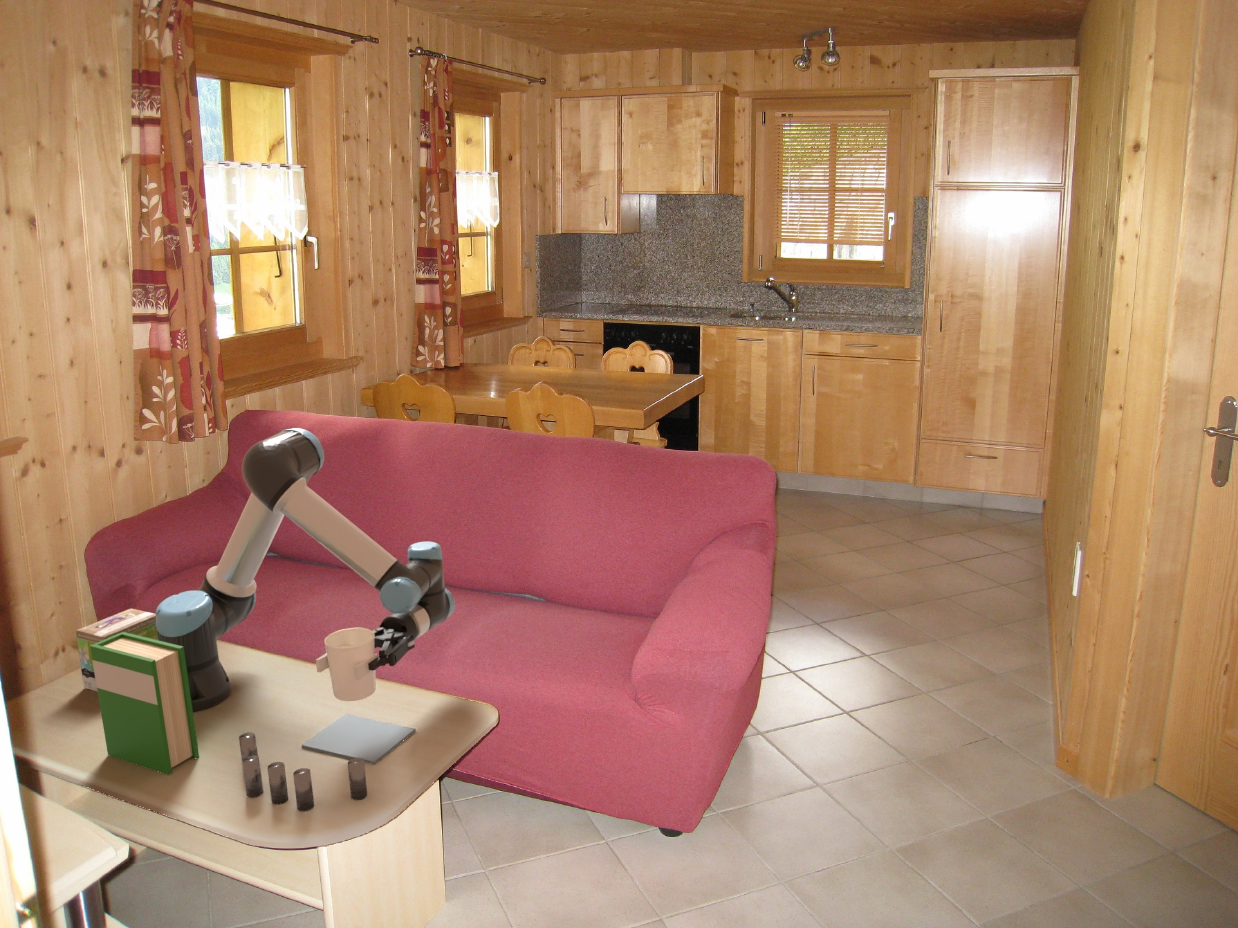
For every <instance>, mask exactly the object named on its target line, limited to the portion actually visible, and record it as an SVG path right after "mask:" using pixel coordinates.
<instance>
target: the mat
mask: <svg viewBox="0 0 1238 928" xmlns="http://www.w3.org/2000/svg"><path fill="white" fill-rule="evenodd" d="M416 731H417V730H416V728H414V727H410V726H405V725H402V724H401V725H400V724H397V723H392V722H386V721H382V720H376V719H373V718H368V717H363V716H358V715H354V714H348V713H345V714H343V715H341V716H340V717H339V718H338V719H336V720H335V721H333V722H332V723H331V724H329V725H327V726H326V727H325V728H324V729H322V730H321V731H319V732H318V733H316V734H314V735H313V736H312V737H311V738H309V739H308V740H306V741H305V742H304V743H303V744H301V748H303V749H306V750H311V751H314V752H318V751H319V753H324V754H328V755H331V756H335V757H339V758H340V757H341V758H344V759H347V760H348V759H349V760H351V759H353V758H362V759H364V763H366V764H370V765H376V764H377V763H379V762H380V761H381V760H382V759H383V758H385V757H386V756H387V755H388V754H390V753H391V752H392V751H393V750H395V749H396V748H397V747H398V746H400V745H401V744H403V742H404V741H406V740H407V739H408V738H409V737H410V735H411V736H412V735H413V734H414V733H415V732H416ZM412 733H413V734H412ZM407 737H408V738H407ZM405 739H406V740H405ZM403 740H404V741H403ZM400 743H401V744H400ZM394 748H395V749H394Z"/></svg>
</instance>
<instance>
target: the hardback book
mask: <svg viewBox="0 0 1238 928" xmlns="http://www.w3.org/2000/svg"><path fill="white" fill-rule="evenodd" d="M90 649H91V655H92V661H93V667H94V673H95V679H96V685H97V691H98V692H97V691H96V692H97V695H98V703H99V709H100V714H101V720H102V727H103V734H104V739H105V745H106V752H107V755H110V756H109V757H111V756H112V758H114V757H115V759H117V758H118V760H121V761H123V760H124V761H125V762H127V763H131V764H134V765H136V764H137V765H136V766H140V767H142V766H143V768H145V767H146V768H145V769H148V768H149V769H148V770H151V769H152V770H151V771H154V770H155V771H154V772H157V771H159V772H158V773H160V772H161V773H160V774H163V773H164V774H163V775H166V774H167V775H166V776H169V775H168V774H170V773H171V774H173V770H172V768H174V767H176V766H177V765H179V764H181V763H182V762H184V761H186V760H188V759H189V758H190V757H191V758H190V759H193V758H194V760H196V759H195V758H197V759H198V758H200V753H199V747H198V746H199V745H198V740H197V739H198V737H197V732H196V725H195V724H196V723H195V719H194V717H195V716H194V711H193V709H192V702H191V695H190V688H189V681H188V674H187V667H186V660H185V653H184V647H183V646H179V645H175V644H171V643H167V642H163V641H158V640H154V639H150V638H146V637H142V636H138V635H134V634H130V633H126V632H121V633H119V634H117V635H114V636H112V637H110V638H107V639H105V640H103V641H100V642H98V643H95V644H93V645H91V646H90ZM124 761H123V762H124ZM171 774H170V775H171Z"/></svg>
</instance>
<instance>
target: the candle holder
mask: <svg viewBox="0 0 1238 928" xmlns="http://www.w3.org/2000/svg"><path fill="white" fill-rule="evenodd" d="M374 638H375V634H374V632H373V631H372V630H371V629H368V628H366V627H365V628H361V627H350V628H349V627H347V628H344V629H340V630H336V631H334V632H332V633H330V634H328V635H327V636H326V637H325V638H324V645H325V647H324V648H325V653H327V659H328V664H329V667H328V669H329V674H330V675H329V676H330V681H331V688H332V692H333V695H334V697H335V698H336V699H337V700H338V701H339V700H340V701H342V702H343V701H344V702H355V701H361V700H364V699H367V698H369V697H370V696H372V695H373V694H374V693H375V692H376V686H377V682H376V679H377V678H376V677H377V673H376V672H377V671H376V670H373V671H371V672H370V673H368V674H367V675H365V676H364V677H362V678H361V679H359V680H356V679H355V671H354V666H356V665H358V664H359V663H361V662H362V661H364V660H366V659H368V658H370V657H371V656H373V654H374V653H375V654H376V648H375V640H374Z"/></svg>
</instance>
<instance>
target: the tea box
mask: <svg viewBox="0 0 1238 928" xmlns="http://www.w3.org/2000/svg"><path fill="white" fill-rule="evenodd" d="M121 632H126V633H130V634H134V635H138V636H142V637H146V638H150V639H154V640H158V641H159V639H158V632H157V629H156V613H153V612H149V611H144V610H140V609H136V608H128V609H126V610H123V611H121V612H118V613H116V614H113V615H111V616H108V617H106V618H104V619H101V620H99V621H98V620H97V621H95V622H93V623H91V624H89V625H86V626H83V627H80V628H78V629H76V630H75V634H76V641H77V648H78V649H77V650H78V656H79V664H80V668H81V669H80V671H81V678H82V684H83V688H84V689H87V690H91V691H93V692H97V693H98V691H97V685H96V679H95V673H94V667H93V661H92V655H91V649H90V646H91V645H93V644H95V643H98V642H100V641H103V640H105V639H107V638H110V637H112V636H114V635H117V634H119V633H121Z"/></svg>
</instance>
